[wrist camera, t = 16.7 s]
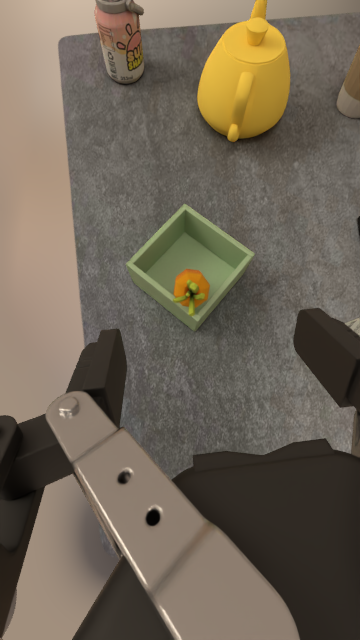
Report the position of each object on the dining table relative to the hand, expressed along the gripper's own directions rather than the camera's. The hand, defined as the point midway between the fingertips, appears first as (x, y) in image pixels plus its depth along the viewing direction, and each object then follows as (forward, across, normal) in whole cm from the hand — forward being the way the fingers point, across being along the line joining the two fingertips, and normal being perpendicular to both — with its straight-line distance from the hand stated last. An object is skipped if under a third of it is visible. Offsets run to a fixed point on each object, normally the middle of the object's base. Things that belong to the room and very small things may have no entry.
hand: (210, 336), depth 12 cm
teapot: (+59, -18, -17) cm, 64 cm away
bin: (+33, -2, +10) cm, 34 cm away
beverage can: (+68, +5, -26) cm, 73 cm away
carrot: (+32, -2, +9) cm, 33 cm away
